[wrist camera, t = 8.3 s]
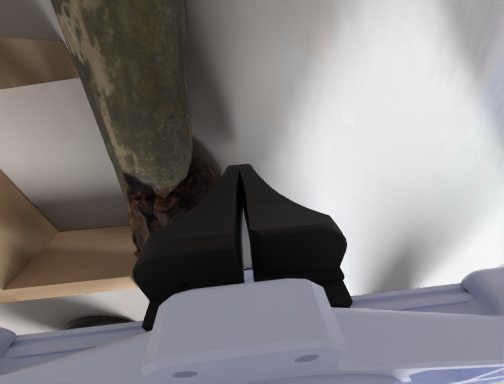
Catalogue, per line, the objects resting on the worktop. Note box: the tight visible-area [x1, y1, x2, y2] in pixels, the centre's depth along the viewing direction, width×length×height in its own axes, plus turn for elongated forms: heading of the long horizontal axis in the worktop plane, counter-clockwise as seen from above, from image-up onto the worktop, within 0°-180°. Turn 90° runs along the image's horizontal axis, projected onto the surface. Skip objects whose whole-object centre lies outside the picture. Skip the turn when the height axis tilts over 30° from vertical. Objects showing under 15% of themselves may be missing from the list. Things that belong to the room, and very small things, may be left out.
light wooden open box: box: [0, 37, 138, 303], centre depth 11 cm, size 14×10×5 cm
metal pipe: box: [51, 0, 221, 258], centre depth 11 cm, size 18×7×6 cm, turn 174°
